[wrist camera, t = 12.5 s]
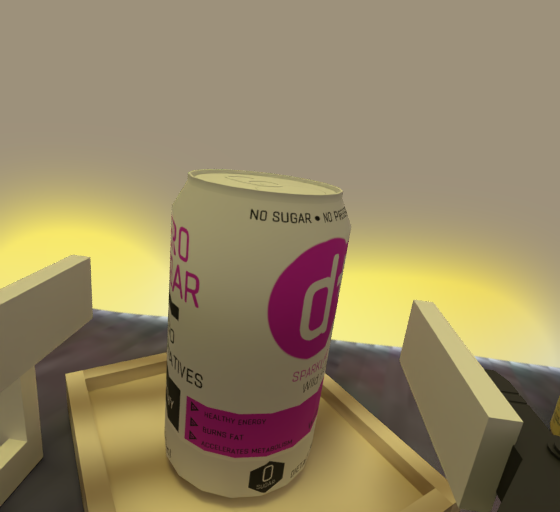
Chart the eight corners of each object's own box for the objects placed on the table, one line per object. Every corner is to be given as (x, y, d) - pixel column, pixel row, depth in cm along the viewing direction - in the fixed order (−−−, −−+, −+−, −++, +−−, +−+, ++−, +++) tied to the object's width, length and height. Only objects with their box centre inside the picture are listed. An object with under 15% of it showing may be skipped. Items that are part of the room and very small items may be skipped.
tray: (67, 406, 25) (65, 374, 24) (272, 354, 34) (275, 329, 33) (128, 791, 11) (127, 743, 10) (452, 532, 20) (464, 495, 19)
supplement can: (335, 444, 23) (387, 193, 18) (235, 546, 16) (274, 203, 12) (240, 379, 27) (262, 168, 23) (134, 440, 21) (135, 165, 17)
